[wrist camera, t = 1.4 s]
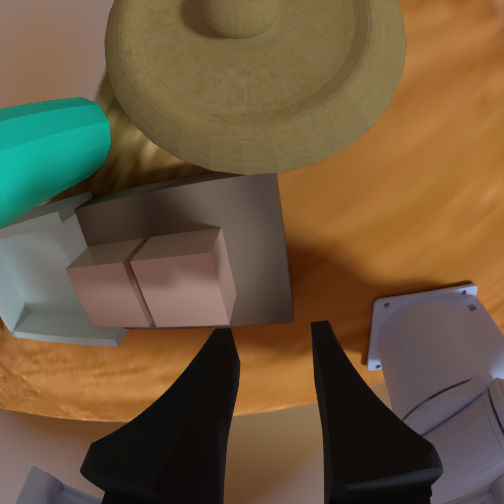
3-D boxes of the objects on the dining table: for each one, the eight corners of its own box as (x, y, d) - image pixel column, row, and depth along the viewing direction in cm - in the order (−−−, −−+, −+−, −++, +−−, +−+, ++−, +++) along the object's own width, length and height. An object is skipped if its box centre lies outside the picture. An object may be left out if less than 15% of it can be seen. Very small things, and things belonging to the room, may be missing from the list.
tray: (90, 191, 19) (57, 211, 16) (137, 315, 24) (118, 347, 21) (-10, 223, 22) (-36, 241, 18) (32, 314, 26) (12, 336, 23)
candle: (123, 161, 18) (-16, 243, 8) (63, 190, 19) (-56, 270, 9) (96, 82, 16) (-58, 100, 5) (39, 120, 17) (-92, 166, 6)
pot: (248, -56, 11) (219, -152, 2) (400, 57, 13) (504, 32, 5) (128, 77, 16) (10, 78, 7) (272, 188, 18) (263, 279, 10)
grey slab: (274, 162, 17) (274, 171, 15) (293, 300, 22) (293, 322, 20) (92, 197, 19) (74, 209, 17) (134, 310, 24) (123, 328, 22)
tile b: (143, 238, 18) (122, 262, 15) (164, 298, 20) (149, 327, 17) (89, 246, 19) (65, 268, 16) (111, 300, 21) (93, 326, 18)
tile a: (221, 227, 17) (210, 252, 14) (236, 293, 19) (229, 324, 16) (150, 237, 18) (129, 261, 15) (171, 297, 20) (156, 326, 17)
